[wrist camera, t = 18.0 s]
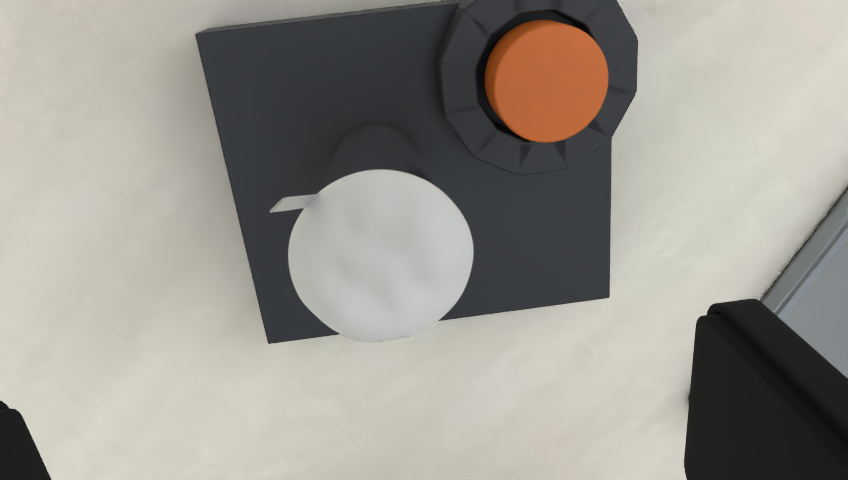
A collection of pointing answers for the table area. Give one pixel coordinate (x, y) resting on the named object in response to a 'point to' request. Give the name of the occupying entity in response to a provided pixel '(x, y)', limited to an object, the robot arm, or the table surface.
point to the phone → (818, 289)
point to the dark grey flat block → (419, 141)
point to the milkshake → (378, 240)
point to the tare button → (546, 80)
